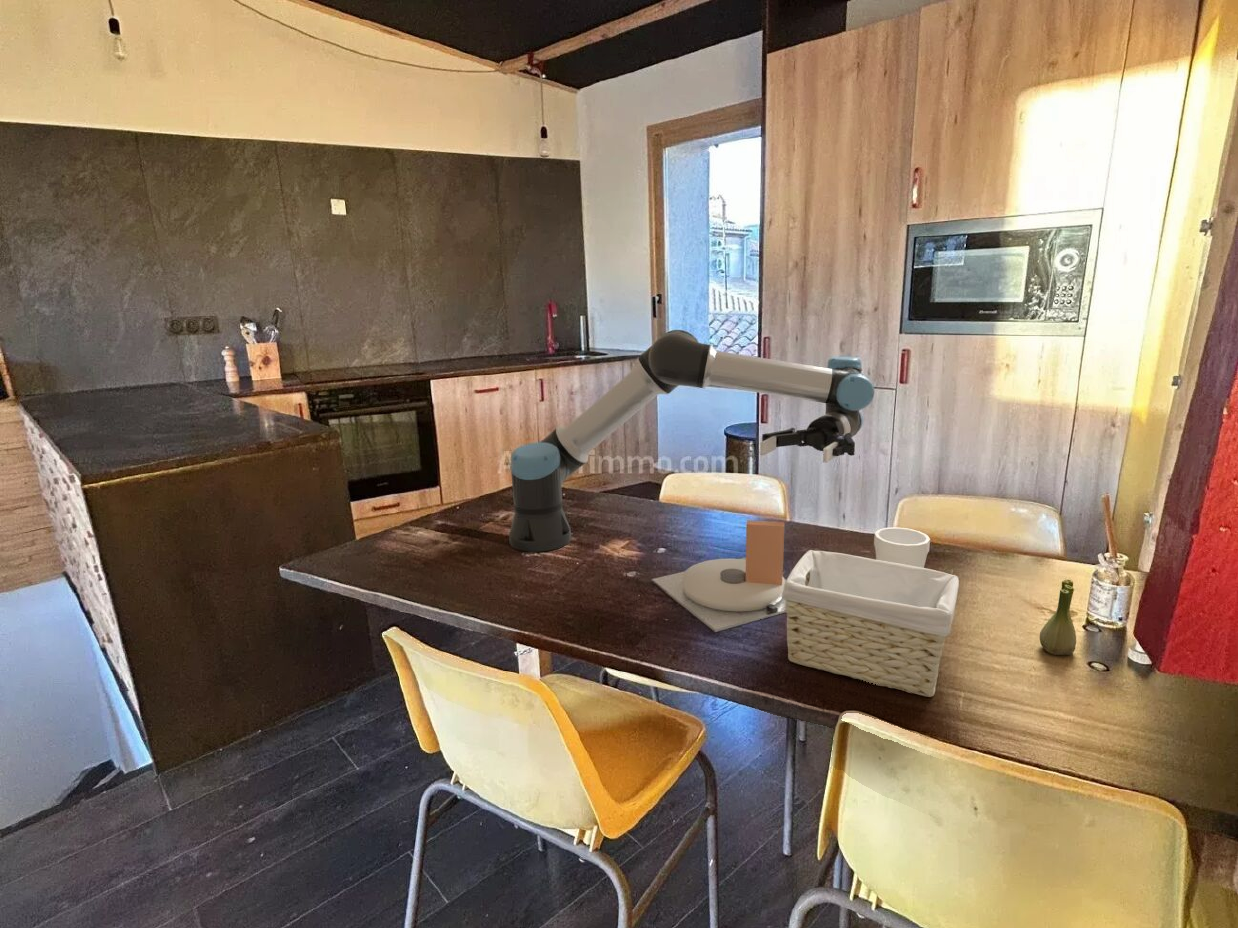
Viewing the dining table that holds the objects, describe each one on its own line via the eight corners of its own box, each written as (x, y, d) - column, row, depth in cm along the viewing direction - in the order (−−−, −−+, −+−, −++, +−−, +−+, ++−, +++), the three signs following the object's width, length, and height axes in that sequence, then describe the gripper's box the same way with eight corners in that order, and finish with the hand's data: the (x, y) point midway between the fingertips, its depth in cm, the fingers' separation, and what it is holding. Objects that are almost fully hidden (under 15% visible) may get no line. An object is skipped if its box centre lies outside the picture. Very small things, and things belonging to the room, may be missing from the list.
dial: (674, 605, 124) (673, 536, 120) (691, 564, 143) (690, 502, 139) (783, 615, 119) (785, 543, 115) (785, 571, 137) (788, 507, 134)
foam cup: (924, 593, 127) (930, 530, 124) (923, 615, 119) (930, 548, 116) (872, 586, 131) (876, 525, 128) (868, 606, 123) (872, 541, 120)
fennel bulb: (1058, 662, 103) (1069, 592, 100) (1028, 648, 107) (1038, 580, 104) (1082, 653, 105) (1094, 585, 102) (1052, 639, 109) (1062, 573, 106)
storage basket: (951, 654, 106) (960, 570, 103) (943, 709, 93) (953, 614, 89) (803, 622, 118) (807, 546, 114) (777, 667, 104) (779, 581, 101)
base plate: (651, 581, 137) (651, 575, 136) (747, 559, 146) (747, 553, 146) (715, 632, 115) (715, 625, 115) (821, 602, 125) (822, 595, 125)
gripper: (883, 453, 141) (854, 478, 124) (776, 443, 155) (736, 463, 138) (886, 419, 139) (856, 439, 123) (776, 411, 153) (736, 428, 137)
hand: (792, 452), depth 130 cm, fingers open, 12 cm apart
